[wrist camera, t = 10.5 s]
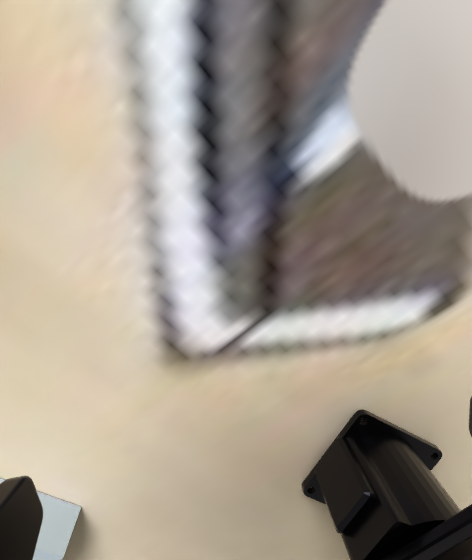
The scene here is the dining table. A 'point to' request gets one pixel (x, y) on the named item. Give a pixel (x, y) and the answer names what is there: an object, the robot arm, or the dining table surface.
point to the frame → (54, 527)
